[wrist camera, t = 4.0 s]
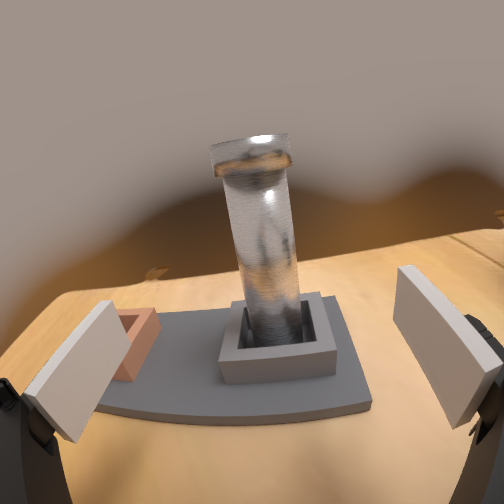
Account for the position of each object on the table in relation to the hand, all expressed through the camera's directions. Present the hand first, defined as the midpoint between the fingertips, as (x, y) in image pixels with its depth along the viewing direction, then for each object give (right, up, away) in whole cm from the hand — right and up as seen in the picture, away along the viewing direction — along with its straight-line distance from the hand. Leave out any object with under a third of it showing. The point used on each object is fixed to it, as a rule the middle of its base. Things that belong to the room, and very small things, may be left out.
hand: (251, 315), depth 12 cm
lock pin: (+2, -5, +10) cm, 12 cm away
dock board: (-5, -7, +12) cm, 15 cm away
